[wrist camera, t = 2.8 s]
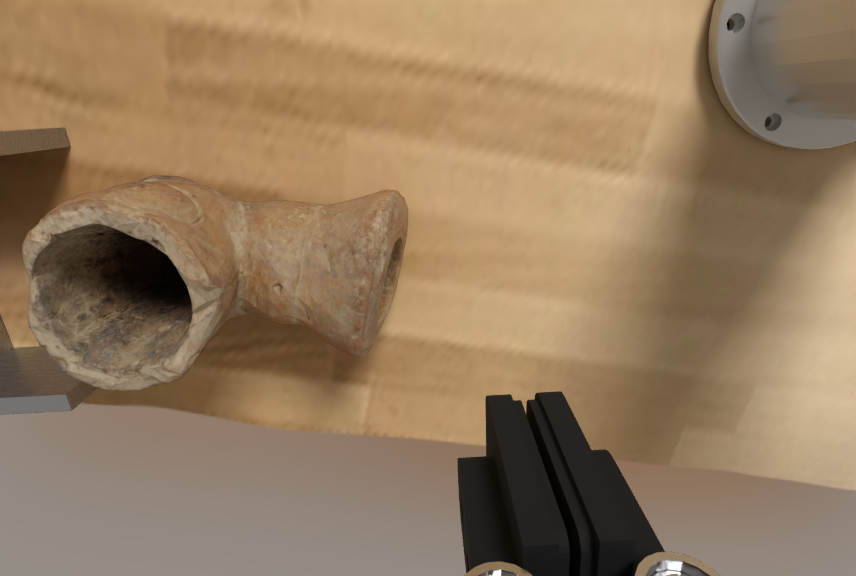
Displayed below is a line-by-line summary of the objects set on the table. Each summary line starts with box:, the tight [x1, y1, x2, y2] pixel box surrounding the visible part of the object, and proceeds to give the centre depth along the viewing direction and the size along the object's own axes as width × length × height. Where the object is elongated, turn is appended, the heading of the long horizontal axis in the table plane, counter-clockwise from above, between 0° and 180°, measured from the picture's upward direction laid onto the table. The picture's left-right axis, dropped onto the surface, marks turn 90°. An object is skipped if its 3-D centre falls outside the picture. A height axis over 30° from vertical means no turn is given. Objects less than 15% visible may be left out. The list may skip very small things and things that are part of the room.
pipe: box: [21, 175, 408, 391], centre depth 24 cm, size 9×16×10 cm, turn 86°
